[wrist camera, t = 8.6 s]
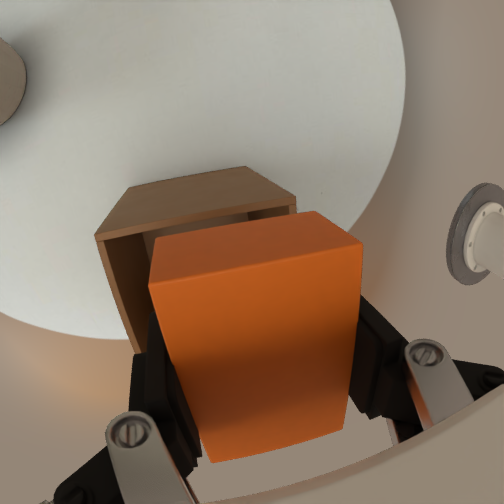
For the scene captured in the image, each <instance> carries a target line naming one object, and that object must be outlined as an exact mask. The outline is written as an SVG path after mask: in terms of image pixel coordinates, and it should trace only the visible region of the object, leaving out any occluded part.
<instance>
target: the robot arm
mask: <svg viewBox="0 0 504 504" xmlns="http://www.w3.org/2000/svg"><path fill="white" fill-rule="evenodd" d="M463 253H464V260H465V264H466V266H467V267H468V268H469V269H470V270H472V271H473V272H477V273H478V272H482V271H485V270H486V269H487V270H489V271H491V272H492V273H494V274H495V275H497V276H499V277H500V278H502V279H504V209H503V207H502V206H501V205H500V204H498V203H496V202H492V201H491V202H487V203H485V204H484V205H482V206H481V207H480V208H479V209H478V210H477V212H476V213H475V215H474V216H473V218H472V220H471V222H470V224H469V226H468V229H467V232H466V236H465V240H464V249H463ZM348 394H349V396H350V397H351V399H352V400H353V402H354V404H355V405H356V407H357V408H358V410H359V411H360V412H361V413H366V415H367V416H368V418H369V419H370V420H371V419H373V418H375V417H378V416H380V415H382V417H385V418H386V421H387V425H388V429H389V432H390V436H391V440H392V444H393V447H391V448H389V449H387V450H384V451H382V452H380V453H378V454H376V455H373V456H371V457H368V458H366V459H364V460H361V461H359V462H356V463H354V464H351V465H349V466H346V467H343V468H341V469H338V470H335V471H332V472H330V473H327V474H324V475H321V476H318V477H315V478H312V479H308V480H305V481H302V482H298V483H295V484H292V485H288V486H284V487H281V488H277V489H273V490H269V491H265V492H261V493H257V494H252V495H247V496H242V497H237V498H232V499H227V500H221V501H215V502H209V503H200V501H199V499H198V498H197V496H196V494H195V492H194V490H193V488H192V487H191V485H190V483H189V481H188V479H187V476H188V475H189V474H190V473H191V472H192V471H193V467H198V464H197V458H198V457H202V450H201V444H200V437H199V431H198V429H197V426H196V424H195V421H194V419H193V416H192V414H191V411H190V408H189V406H188V403H187V400H186V398H185V395H184V392H183V390H182V387H181V384H180V381H179V379H178V376H177V373H176V370H175V367H174V365H173V364H172V362H171V359H170V356H169V353H168V350H167V347H166V344H165V341H164V338H163V335H162V332H161V328H160V325H159V322H158V319H157V315H156V312H152V313H150V314H149V324H148V336H147V351H146V352H144V353H138V354H134V356H133V363H132V373H131V385H130V397H129V411H128V412H125V413H122V414H120V415H118V416H116V417H115V418H114V419H113V420H111V422H110V423H109V424H108V426H107V429H106V432H105V436H106V443H107V446H106V447H105V448H103V449H102V450H101V451H100V452H99V453H97V454H96V455H95V456H94V457H93V458H91V459H90V460H89V461H88V462H87V463H86V464H84V465H83V466H82V467H81V468H79V469H78V470H77V471H76V472H75V473H73V474H72V475H71V476H70V477H68V478H67V479H66V480H65V481H63V482H62V483H61V484H60V485H59V486H58V487H57V489H56V491H55V493H54V499H53V500H52V501H51V502H48V501H47V500H45V501H43V502H42V503H40V504H504V371H503V370H502V369H500V368H498V367H495V366H489V365H483V364H477V363H471V362H465V361H458V360H453V359H451V357H450V355H449V354H448V352H447V350H446V349H445V348H444V346H442V345H441V344H440V343H438V342H436V341H434V340H430V339H417V340H414V341H412V342H410V343H409V342H408V341H407V340H406V339H405V338H404V337H403V336H402V335H401V334H400V333H399V332H398V331H397V330H396V329H395V328H394V327H393V326H392V325H391V324H390V323H389V322H388V321H387V320H386V319H385V318H384V317H383V316H382V315H381V314H380V313H379V312H378V311H377V310H376V309H375V308H374V307H373V306H372V305H371V304H370V303H369V302H368V301H367V300H366V299H365V298H364V297H363V296H362V295H361V294H360V305H359V316H358V323H357V329H356V338H355V347H354V355H353V363H352V371H351V378H350V385H349V391H348Z"/></svg>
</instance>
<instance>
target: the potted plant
mask: <svg viewBox="0 0 504 504" xmlns="http://www.w3.org/2000/svg"><path fill="white" fill-rule="evenodd" d="M25 85H26V70H25V66H24V62H23V60H22V59H21V58H20V56H19V55H18V54H17V53H16V51H15V50H14V49H13V48H12V47H10V46H9V45H8V44H7V43H6V42H5V41H4V40H3V39H2V38H0V125H1V124H3V123H4V122H5V121H6V120H8V119H9V118H10V117H11V115H12V114H13V113H14V112H15V111H16V109H17V107H18V105H19V103H20V101H21V99H22V97H23V94H24V91H25Z"/></svg>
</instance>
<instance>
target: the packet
mask: <svg viewBox="0 0 504 504" xmlns="http://www.w3.org/2000/svg"><path fill="white" fill-rule="evenodd" d="M362 259H363V244H362V242H360V241H359V240H357V239H356V238H354V237H353V236H352V235H350V234H349V233H347V232H346V231H344V230H343V229H341V228H340V227H338V226H337V225H335V224H334V223H332V222H331V221H329V220H328V219H326V218H325V217H323V216H322V215H320V214H319V213H317V212H316V211H310V212H303V213H297V214H290V215H284V216H278V217H272V218H265V219H259V220H253V221H247V222H241V223H235V224H230V225H224V226H218V227H212V228H207V229H201V230H195V231H190V232H184V233H179V234H173V235H168V236H162V237H157V238H156V239H155V244H154V250H153V256H152V262H151V269H150V276H149V283H148V287H149V291H150V295H151V298H152V302H153V305H154V308H155V312H156V315H157V319H158V322H159V325H160V328H161V332H162V335H163V338H164V341H165V344H166V347H167V350H168V353H169V356H170V359H171V362H172V364H173V365H174V367H175V370H176V373H177V376H178V379H179V381H180V384H181V387H182V390H183V392H184V395H185V398H186V400H187V403H188V406H189V408H190V411H191V414H192V416H193V419H194V421H195V424H196V426H197V429H198V431H199V436H200V439H201V441H202V443H203V446H204V448H205V450H206V452H207V455H208V457H209V459H210V461H211V463H216V462H222V461H227V460H232V459H237V458H242V457H247V456H252V455H255V454H260V453H264V452H268V451H272V450H276V449H280V448H284V447H288V446H291V445H294V444H298V443H302V442H305V441H308V440H311V439H314V438H318V437H321V436H323V435H327V434H330V433H333V432H336V431H339V430H341V429H342V428H343V424H344V418H345V413H346V407H347V401H348V395H349V394H348V391H349V385H350V378H351V371H352V363H353V355H354V347H355V338H356V329H357V323H358V316H359V305H360V293H361V278H362Z"/></svg>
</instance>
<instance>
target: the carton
mask: <svg viewBox="0 0 504 504" xmlns="http://www.w3.org/2000/svg"><path fill="white" fill-rule="evenodd" d="M290 214H297V207H296V196H294V195H293V194H291V193H290V192H288V191H286V190H285V189H283V188H281V187H280V186H278V185H276V184H275V183H273V182H272V181H270V180H268V179H267V178H265V177H263V176H262V175H260V174H258V173H256V172H255V171H253V170H251V169H250V168H248V167H246V166H242V167H236V168H229V169H223V170H217V171H211V172H205V173H200V174H194V175H188V176H183V177H178V178H173V179H167V180H162V181H157V182H153V183H148V184H143V185H138V186H134V187H129V188H128V189H127V190H126V192H125V193H124V194H123V196H122V197H121V198H120V200H119V201H118V202H117V204H116V205H115V206H114V208H113V209H112V210H111V212H110V213H109V214H108V216H107V217H106V219H105V220H104V221H103V223H102V224H101V226H100V227H99V228H98V230H97V231H96V233H95V234H94V236H95V240H96V242H97V247H98V250H99V253H100V257H101V260H102V263H103V267H104V270H105V273H106V276H107V279H108V282H109V285H110V288H111V291H112V294H113V297H114V300H115V303H116V305H117V308H118V311H119V314H120V316H121V319H122V322H123V324H124V327H125V329H126V332H127V335H128V337H129V339H130V342H131V345H132V347H133V349H134V352H135V354H138V353H144V352H146V351H147V336H148V324H149V314H150V313H152V312H155V308H154V305H153V302H152V298H151V295H150V291H149V287H148V283H149V276H150V269H151V262H152V256H153V250H154V244H155V239H156V238H157V237H162V236H168V235H173V234H179V233H184V232H190V231H195V230H201V229H207V228H212V227H218V226H224V225H230V224H235V223H241V222H247V221H253V220H259V219H265V218H272V217H278V216H284V215H290Z"/></svg>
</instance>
